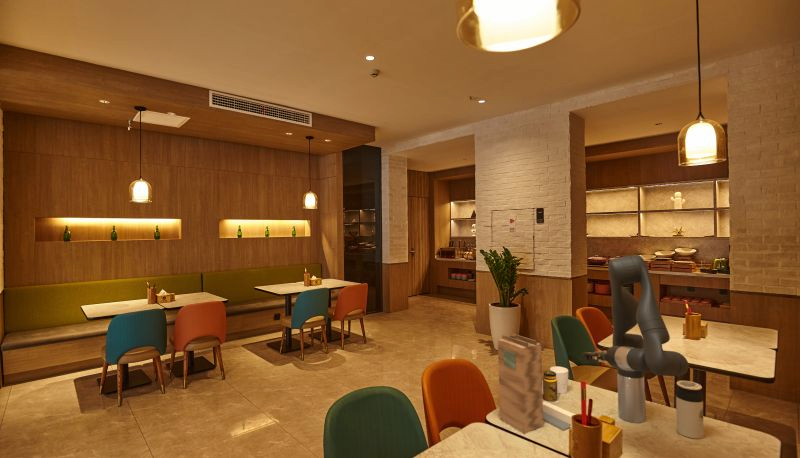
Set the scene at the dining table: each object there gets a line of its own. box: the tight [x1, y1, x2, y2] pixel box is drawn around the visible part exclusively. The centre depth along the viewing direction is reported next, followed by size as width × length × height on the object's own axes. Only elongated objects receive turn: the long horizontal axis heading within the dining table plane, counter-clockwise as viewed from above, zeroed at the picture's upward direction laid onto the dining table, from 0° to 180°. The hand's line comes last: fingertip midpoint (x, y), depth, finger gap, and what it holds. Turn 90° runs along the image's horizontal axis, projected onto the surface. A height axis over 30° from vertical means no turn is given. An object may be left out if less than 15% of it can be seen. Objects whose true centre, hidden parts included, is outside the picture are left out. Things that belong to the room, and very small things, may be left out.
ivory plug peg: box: [543, 401, 576, 424], centre depth 158 cm, size 3×19×3 cm, turn 31°
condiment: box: [542, 370, 560, 404], centre depth 177 cm, size 7×8×12 cm
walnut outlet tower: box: [497, 332, 544, 435], centre depth 156 cm, size 10×13×34 cm
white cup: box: [549, 366, 569, 395], centre depth 185 cm, size 8×8×10 cm
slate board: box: [543, 412, 571, 432], centre depth 161 cm, size 12×19×1 cm, turn 28°
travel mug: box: [675, 380, 705, 440], centre depth 145 cm, size 8×8×18 cm
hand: (593, 354), depth 148 cm, fingers open, 8 cm apart
